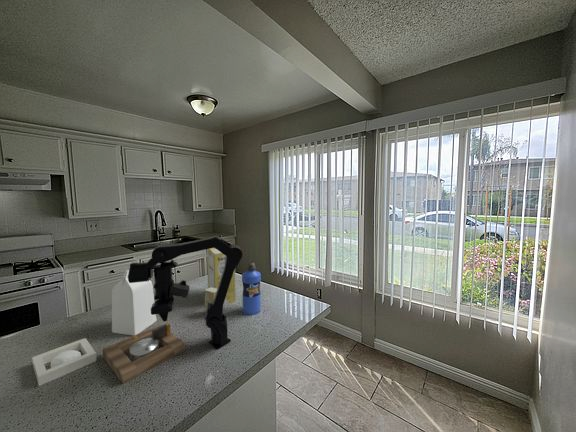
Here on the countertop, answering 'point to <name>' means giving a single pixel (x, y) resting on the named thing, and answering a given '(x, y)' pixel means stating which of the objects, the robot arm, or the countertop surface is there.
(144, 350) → the dial
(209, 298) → the skincare box
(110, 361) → the surround
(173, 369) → the countertop surface
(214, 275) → the pasta box
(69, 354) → the garlic
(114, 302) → the milk
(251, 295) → the water bottle
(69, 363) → the frame
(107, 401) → the countertop surface
